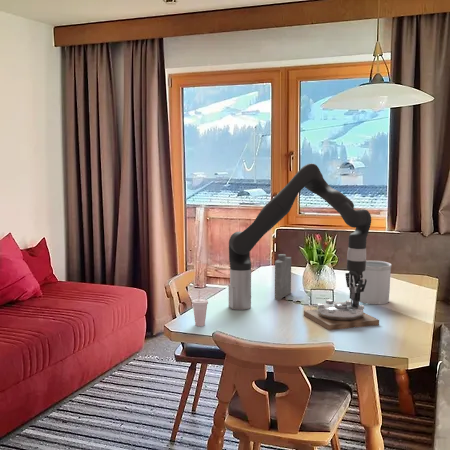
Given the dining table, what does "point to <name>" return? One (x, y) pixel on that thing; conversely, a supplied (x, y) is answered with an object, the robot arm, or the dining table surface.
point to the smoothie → (200, 310)
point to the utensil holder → (376, 282)
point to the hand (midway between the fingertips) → (354, 299)
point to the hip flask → (282, 276)
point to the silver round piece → (341, 309)
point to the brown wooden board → (340, 321)
